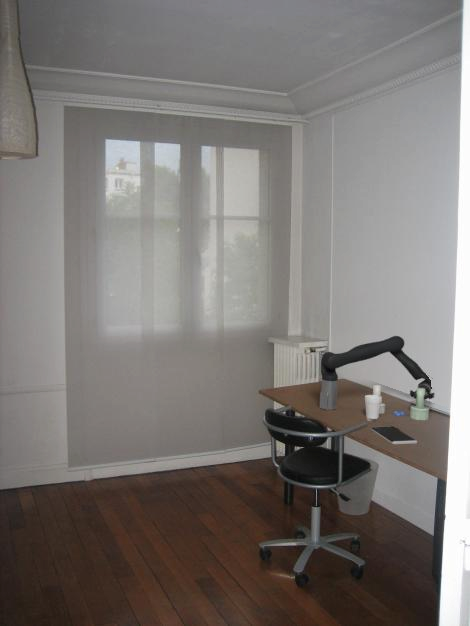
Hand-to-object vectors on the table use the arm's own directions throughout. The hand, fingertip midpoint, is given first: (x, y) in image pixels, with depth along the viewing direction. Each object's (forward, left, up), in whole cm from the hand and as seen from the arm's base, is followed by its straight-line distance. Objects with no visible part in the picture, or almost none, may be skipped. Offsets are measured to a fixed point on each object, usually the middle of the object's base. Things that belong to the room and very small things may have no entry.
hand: (420, 397), depth 360 cm
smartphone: (-34, -10, -14) cm, 38 cm away
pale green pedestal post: (+2, +1, -12) cm, 13 cm away
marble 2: (-3, +11, -12) cm, 17 cm away
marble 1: (-2, +14, -12) cm, 19 cm away
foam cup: (-20, +16, -14) cm, 29 cm away
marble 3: (0, +11, -12) cm, 17 cm away
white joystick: (-8, +24, -14) cm, 28 cm away
